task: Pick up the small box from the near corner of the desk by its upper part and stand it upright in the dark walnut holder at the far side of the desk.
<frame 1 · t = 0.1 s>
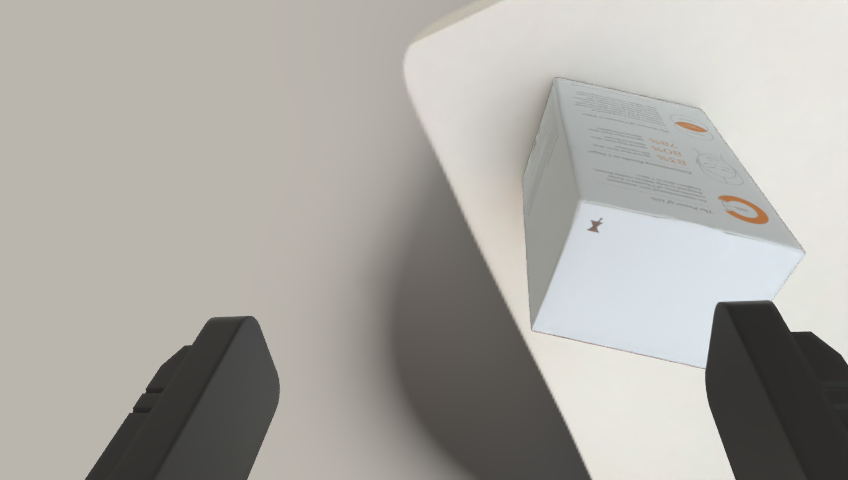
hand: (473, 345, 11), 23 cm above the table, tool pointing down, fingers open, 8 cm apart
small box: (607, 145, 33), on the table
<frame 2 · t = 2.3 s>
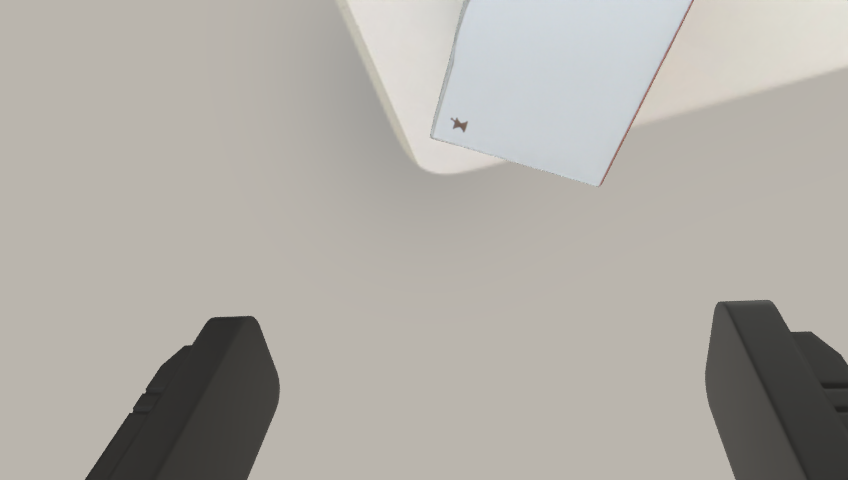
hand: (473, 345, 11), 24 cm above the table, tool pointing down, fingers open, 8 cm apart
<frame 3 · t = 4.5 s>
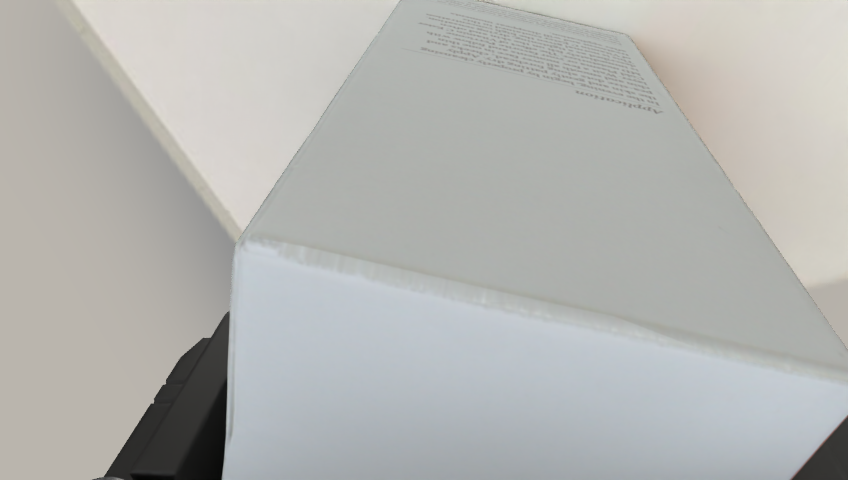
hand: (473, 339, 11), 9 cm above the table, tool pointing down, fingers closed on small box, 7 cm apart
small box: (486, 136, 19), on the table, touching gripper
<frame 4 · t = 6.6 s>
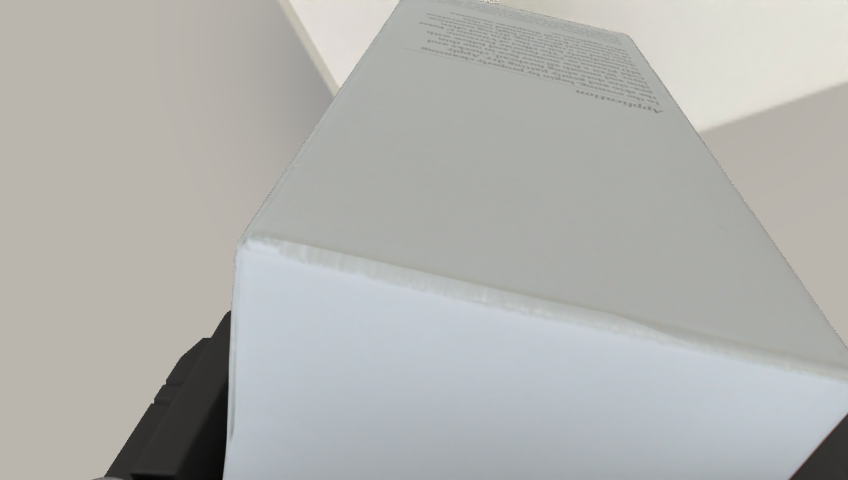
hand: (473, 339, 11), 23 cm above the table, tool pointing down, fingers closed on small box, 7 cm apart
small box: (486, 136, 19), point 14 cm above the table, touching gripper
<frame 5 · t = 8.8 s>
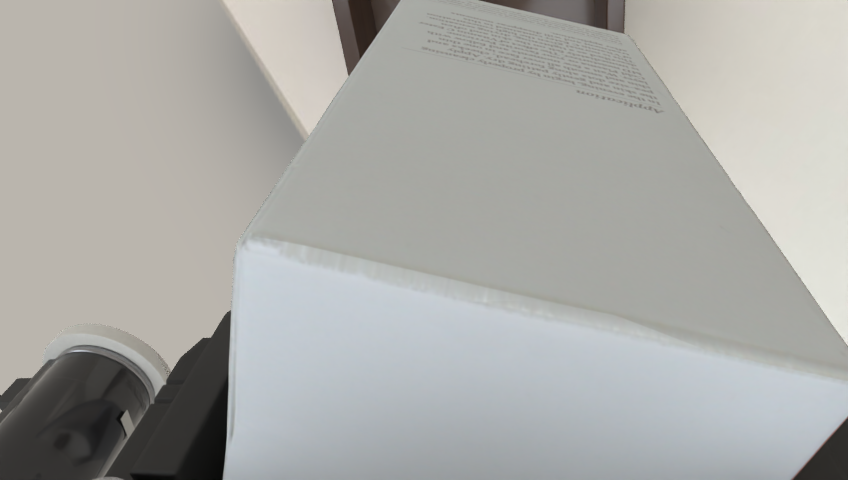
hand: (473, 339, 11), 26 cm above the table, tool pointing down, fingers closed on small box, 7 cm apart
small box: (487, 136, 19), point 17 cm above the table, touching gripper
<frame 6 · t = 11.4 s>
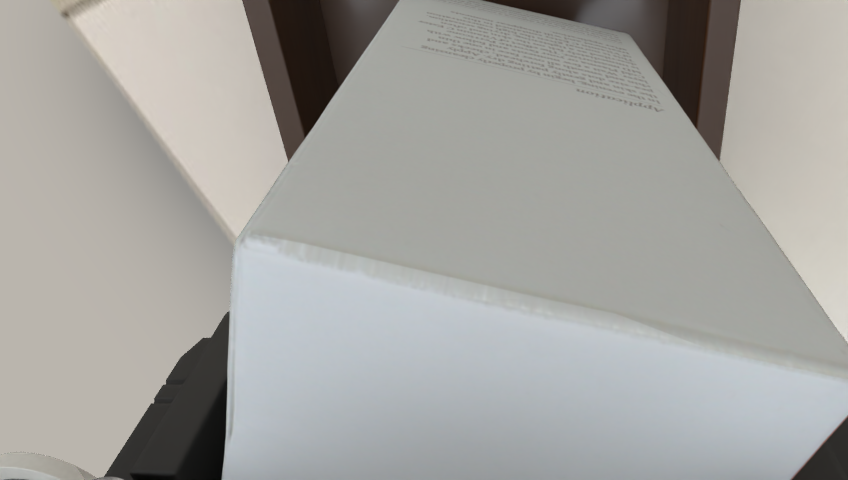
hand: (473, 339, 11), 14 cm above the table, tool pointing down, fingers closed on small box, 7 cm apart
holder: (495, 81, 23), on the table
small box: (487, 135, 19), point 5 cm above the table, touching gripper
when the fingers open (10 cm above the table, at t = 13.3 s): small box stays where it is, resting on holder.
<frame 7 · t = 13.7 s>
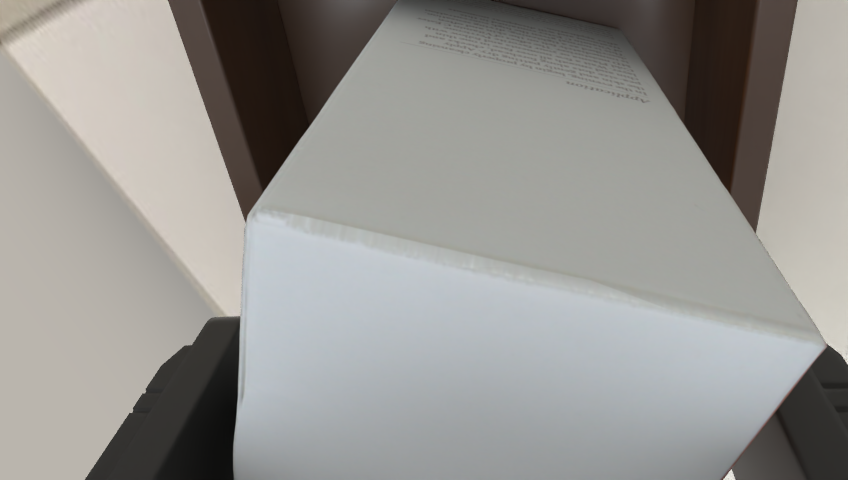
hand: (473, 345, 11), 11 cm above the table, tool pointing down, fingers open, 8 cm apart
holder: (490, 118, 20), on the table
small box: (485, 129, 19), point 1 cm above the table, touching holder
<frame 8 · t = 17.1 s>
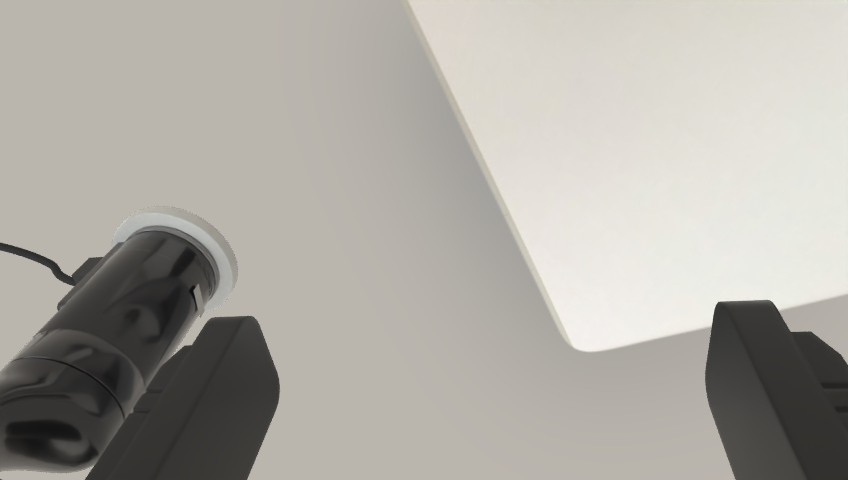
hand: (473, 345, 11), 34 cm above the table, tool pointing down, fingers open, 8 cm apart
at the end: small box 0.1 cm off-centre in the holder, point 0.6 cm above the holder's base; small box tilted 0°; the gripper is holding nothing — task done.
